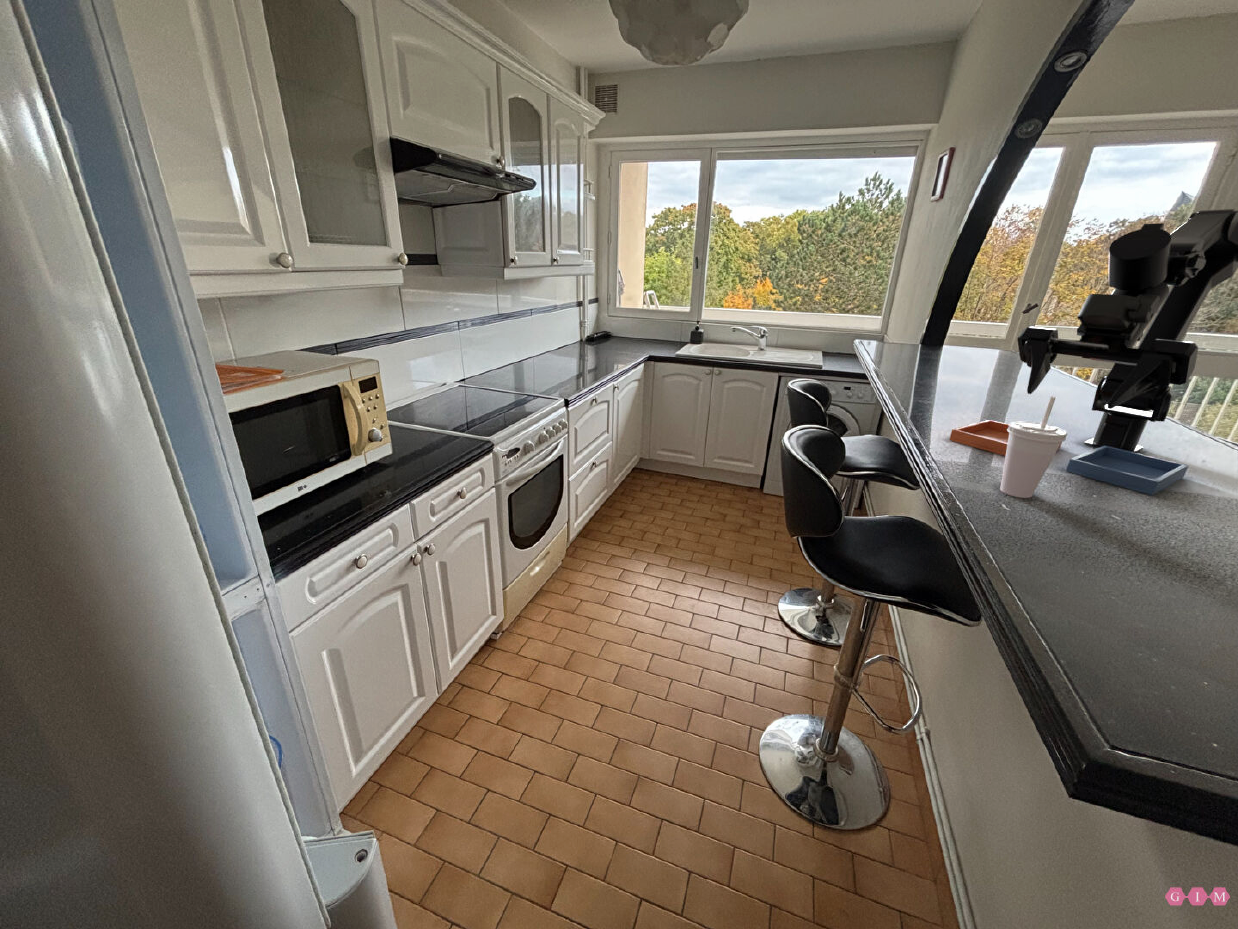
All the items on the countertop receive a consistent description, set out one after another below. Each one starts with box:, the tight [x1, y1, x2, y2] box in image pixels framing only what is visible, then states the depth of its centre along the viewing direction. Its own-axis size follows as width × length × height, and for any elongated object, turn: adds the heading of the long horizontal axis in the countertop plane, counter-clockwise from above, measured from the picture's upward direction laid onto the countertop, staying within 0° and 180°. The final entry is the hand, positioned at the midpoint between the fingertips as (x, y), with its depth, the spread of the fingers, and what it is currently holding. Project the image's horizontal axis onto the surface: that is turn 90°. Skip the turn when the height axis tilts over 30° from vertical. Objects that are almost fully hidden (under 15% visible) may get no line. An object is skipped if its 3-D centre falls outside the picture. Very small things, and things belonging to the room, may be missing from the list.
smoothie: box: [999, 396, 1068, 499], centre depth 70 cm, size 6×6×14 cm
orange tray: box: [948, 419, 1063, 457], centre depth 91 cm, size 13×12×2 cm
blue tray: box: [1065, 446, 1190, 496], centre depth 79 cm, size 13×10×2 cm
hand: (1066, 399), depth 71 cm, fingers open, 9 cm apart
